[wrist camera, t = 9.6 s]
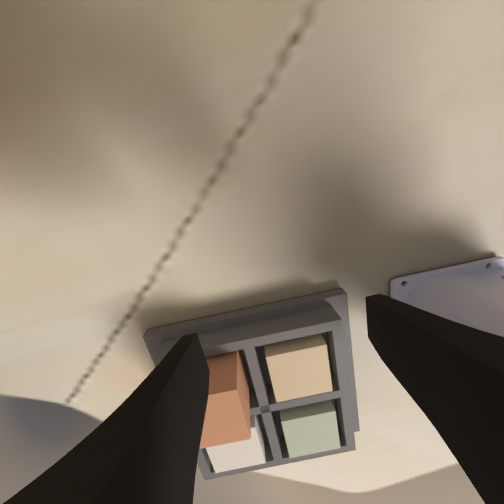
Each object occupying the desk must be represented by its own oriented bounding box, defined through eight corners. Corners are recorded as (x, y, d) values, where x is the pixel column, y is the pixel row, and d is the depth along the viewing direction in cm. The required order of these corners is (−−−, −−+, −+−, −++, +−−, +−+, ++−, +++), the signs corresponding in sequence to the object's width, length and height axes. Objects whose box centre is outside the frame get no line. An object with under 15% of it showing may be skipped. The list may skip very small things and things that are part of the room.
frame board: (341, 288, 20) (361, 310, 17) (355, 421, 25) (372, 458, 22) (147, 329, 20) (129, 359, 17) (198, 452, 25) (192, 494, 22)
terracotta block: (237, 338, 20) (236, 389, 15) (248, 380, 21) (251, 438, 16) (184, 349, 20) (166, 403, 15) (198, 390, 21) (187, 451, 17)
